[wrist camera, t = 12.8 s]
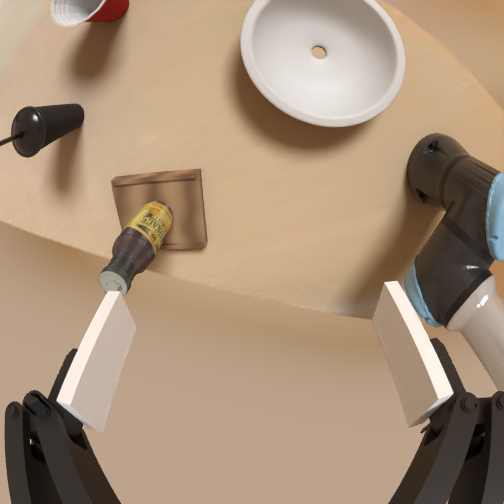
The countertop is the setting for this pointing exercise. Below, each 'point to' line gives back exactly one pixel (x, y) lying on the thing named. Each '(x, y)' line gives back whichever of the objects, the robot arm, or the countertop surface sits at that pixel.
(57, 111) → the drinking cup
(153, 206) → the sauce bottle
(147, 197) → the board
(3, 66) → the countertop surface
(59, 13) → the plastic cup
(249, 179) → the countertop surface
